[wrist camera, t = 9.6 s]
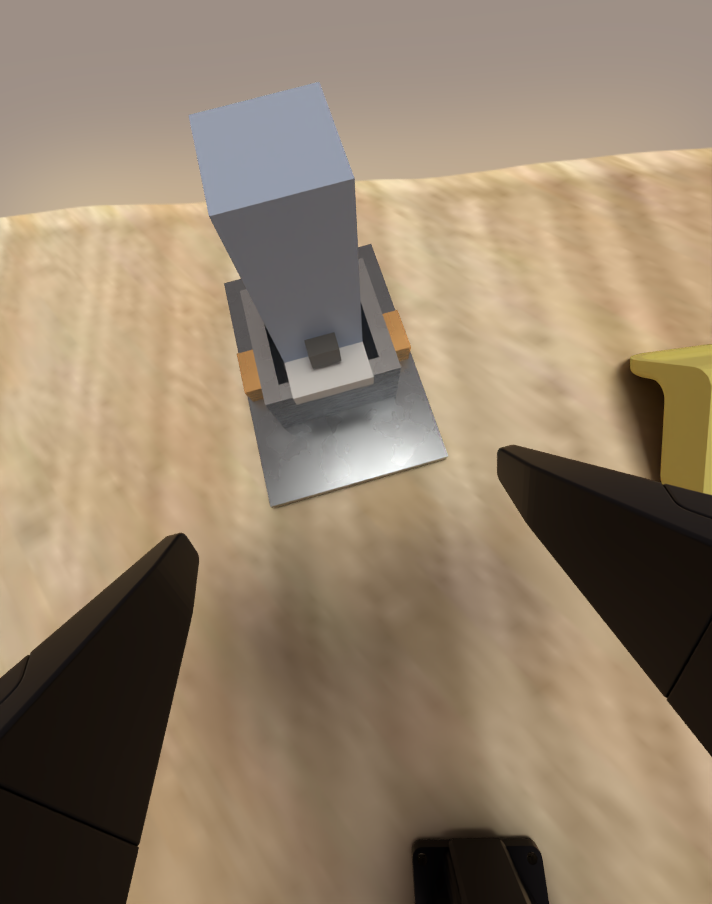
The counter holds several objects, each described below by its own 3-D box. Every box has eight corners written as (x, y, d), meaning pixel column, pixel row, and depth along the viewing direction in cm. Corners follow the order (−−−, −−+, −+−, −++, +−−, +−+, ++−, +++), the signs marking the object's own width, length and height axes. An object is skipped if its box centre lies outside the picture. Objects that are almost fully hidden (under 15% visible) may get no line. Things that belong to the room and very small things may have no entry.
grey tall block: (373, 408, 22) (375, 235, 9) (309, 425, 22) (221, 276, 9) (339, 299, 24) (304, 40, 11) (281, 315, 24) (179, 71, 11)
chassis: (445, 459, 22) (465, 438, 17) (274, 507, 22) (247, 500, 17) (371, 254, 26) (371, 191, 22) (229, 292, 26) (197, 238, 21)
